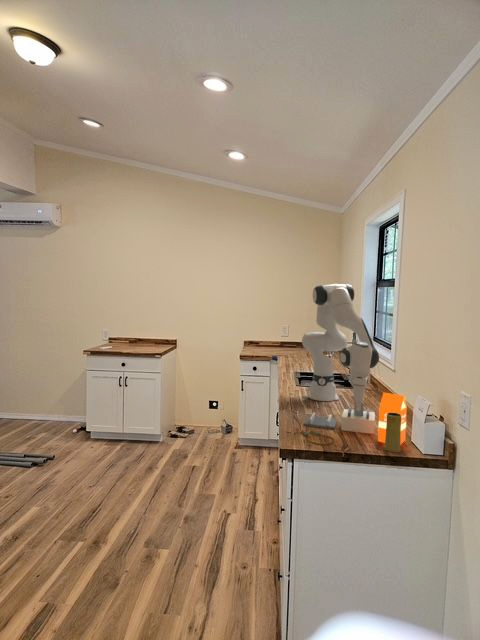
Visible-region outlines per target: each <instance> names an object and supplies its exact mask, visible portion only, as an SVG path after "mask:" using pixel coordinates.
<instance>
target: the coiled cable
mask: <svg viewBox="0 0 480 640" xmlns="http://www.w3.org/2000/svg"><path fill="white" fill-rule="evenodd" d="M300 433H302V434H301V435H303V436H306V441H307V442H308V443H311V444H313V445H317V446H331V445H334V443H335V439H334V437H332V436H329V435H325V434H321V432H319V431H316V430H313V429H311V430H309V433H308V432H307V430H301V432H300ZM310 434H311V435H310ZM312 435H313V436H322V437H324V438H329V439H331V440H332V441H331V442H328V443H319V442H315V441H311V440H309V438H311V436H312Z"/></svg>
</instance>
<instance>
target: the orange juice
mask: <svg viewBox="0 0 480 640" xmlns="http://www.w3.org/2000/svg"><path fill="white" fill-rule="evenodd" d="M407 409H408V407H407V404H406V397H405V395H402V394H401V395H400V394H393V393H389V392H383V394H382V397H381V401H380V404H379V410H378V412H379V413H378V429H377V430H378V431H377V432H378V433H377V434H378V436H377V441H378V442H379V443H384V444H385V437H386V425H387V413H389V412H394V413H399V414H401V445H403V444H404V443H405V442H406V433H407V432H406V430H407V411H408V410H407ZM404 441H405V442H404ZM403 442H404V443H403ZM402 443H403V444H402Z"/></svg>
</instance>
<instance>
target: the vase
mask: <svg viewBox="0 0 480 640" xmlns="http://www.w3.org/2000/svg"><path fill="white" fill-rule="evenodd" d="M401 446H402V444H401V414H399V413H394V412H389V413H387V425H386V437H385V443H384V447H383V448H384V450H385V451H387V452H390V453H399V452H401V451H402V449H401Z"/></svg>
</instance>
